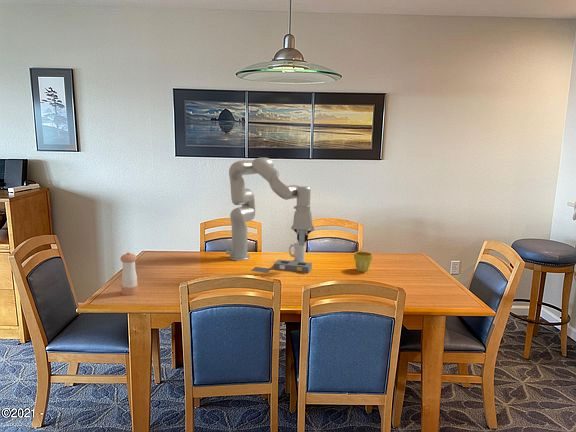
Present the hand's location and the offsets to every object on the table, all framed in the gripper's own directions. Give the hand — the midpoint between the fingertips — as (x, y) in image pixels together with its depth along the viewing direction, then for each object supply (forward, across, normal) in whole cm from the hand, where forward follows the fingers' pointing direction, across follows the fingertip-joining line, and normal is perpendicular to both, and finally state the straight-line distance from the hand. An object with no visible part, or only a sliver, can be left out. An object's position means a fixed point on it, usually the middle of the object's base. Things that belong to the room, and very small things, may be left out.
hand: (302, 240), depth 234 cm
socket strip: (+17, -5, 0) cm, 18 cm away
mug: (+17, -7, +17) cm, 25 cm away
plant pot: (+17, +33, +13) cm, 39 cm away
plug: (+2, 0, 0) cm, 2 cm away
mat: (+17, -21, -8) cm, 28 cm away
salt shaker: (+17, -67, -62) cm, 93 cm away
